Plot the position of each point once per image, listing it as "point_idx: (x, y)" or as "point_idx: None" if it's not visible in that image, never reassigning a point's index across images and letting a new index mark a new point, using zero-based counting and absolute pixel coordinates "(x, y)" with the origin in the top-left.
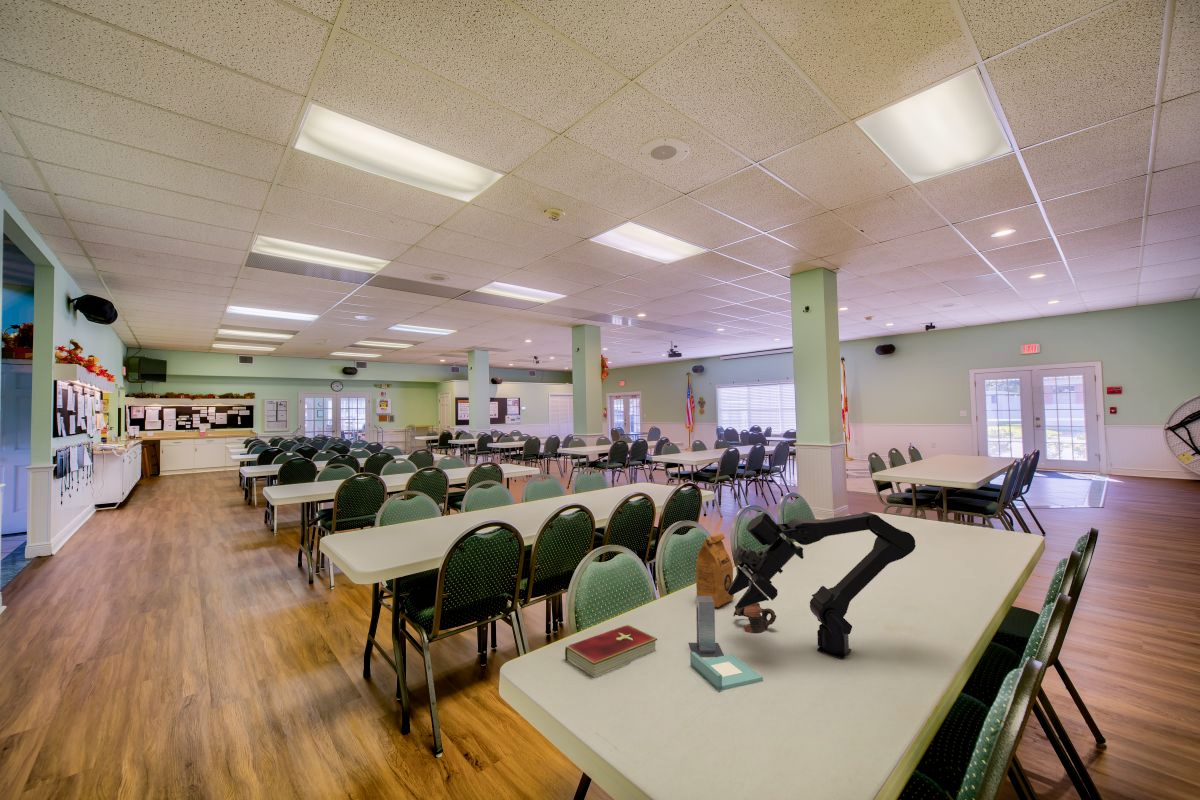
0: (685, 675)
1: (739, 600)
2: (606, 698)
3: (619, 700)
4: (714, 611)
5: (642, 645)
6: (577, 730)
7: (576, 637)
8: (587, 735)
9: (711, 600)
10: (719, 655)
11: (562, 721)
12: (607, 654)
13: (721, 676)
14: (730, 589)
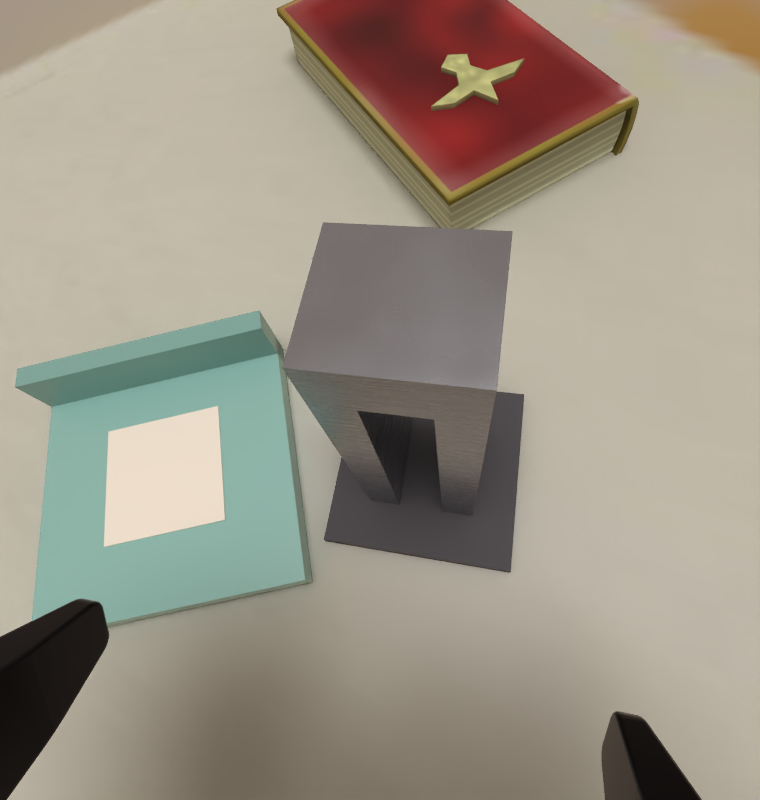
0: (227, 314)
1: (24, 646)
2: (177, 90)
3: (155, 116)
4: (311, 408)
5: (395, 144)
6: (76, 45)
7: (613, 2)
8: (50, 61)
9: (340, 351)
10: (346, 515)
11: (121, 19)
12: (331, 37)
13: (18, 387)
14: (636, 780)
